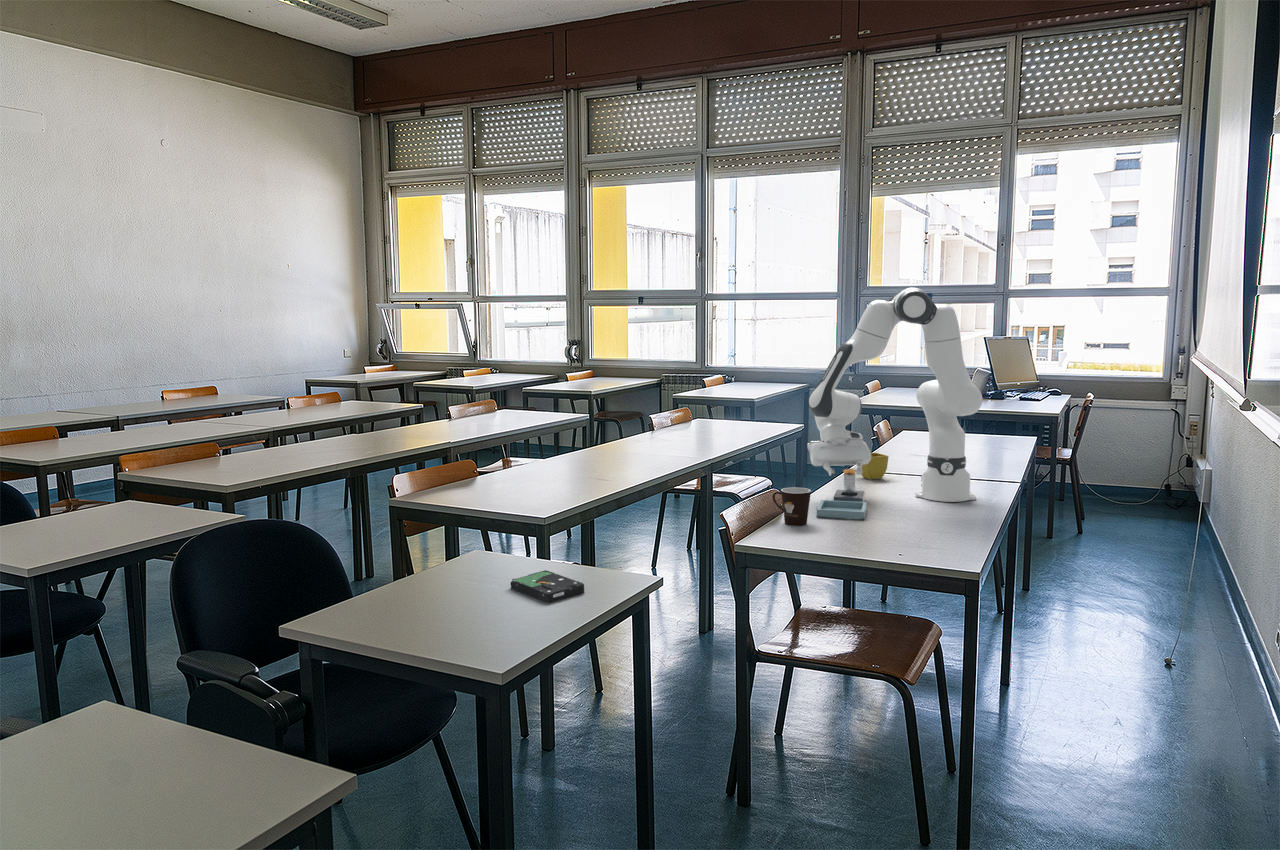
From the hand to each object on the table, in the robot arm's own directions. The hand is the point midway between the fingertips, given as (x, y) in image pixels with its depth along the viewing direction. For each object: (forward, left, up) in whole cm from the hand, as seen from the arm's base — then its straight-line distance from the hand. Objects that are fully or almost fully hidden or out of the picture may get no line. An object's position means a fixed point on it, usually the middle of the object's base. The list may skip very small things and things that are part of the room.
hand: (846, 474), depth 278 cm
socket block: (+2, +1, -9) cm, 9 cm away
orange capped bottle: (+2, +1, -9) cm, 9 cm away
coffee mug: (+33, -13, -9) cm, 37 cm away
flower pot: (-43, +6, -9) cm, 44 cm away
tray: (+18, 0, -9) cm, 20 cm away
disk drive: (+111, -57, -10) cm, 125 cm away
